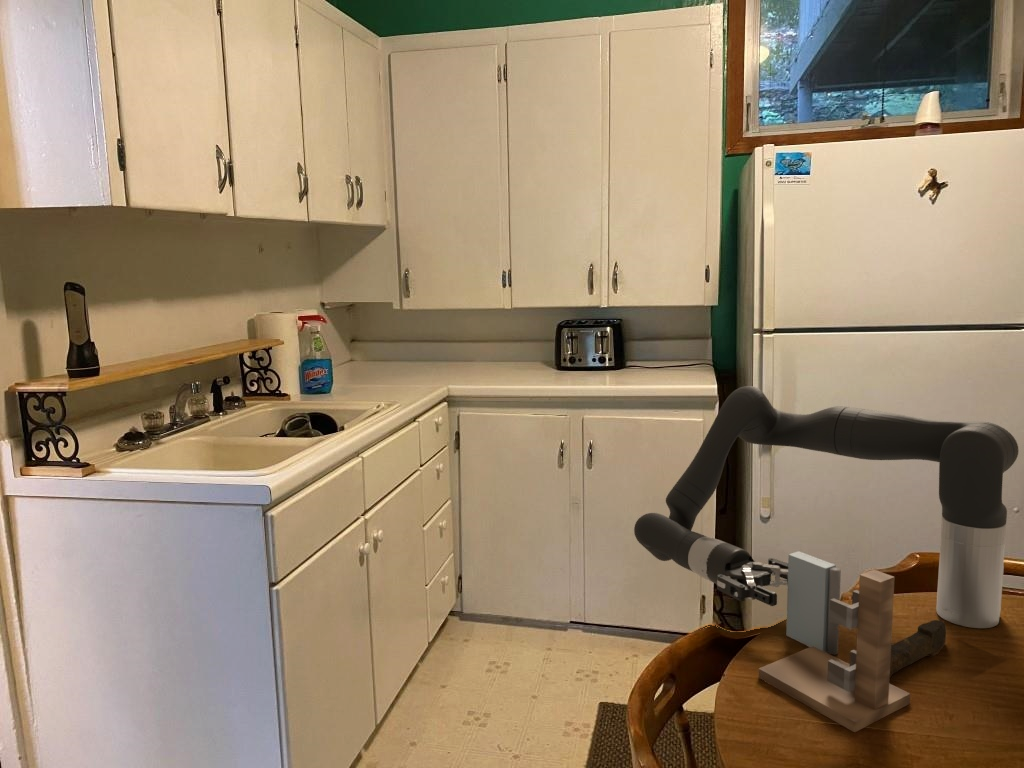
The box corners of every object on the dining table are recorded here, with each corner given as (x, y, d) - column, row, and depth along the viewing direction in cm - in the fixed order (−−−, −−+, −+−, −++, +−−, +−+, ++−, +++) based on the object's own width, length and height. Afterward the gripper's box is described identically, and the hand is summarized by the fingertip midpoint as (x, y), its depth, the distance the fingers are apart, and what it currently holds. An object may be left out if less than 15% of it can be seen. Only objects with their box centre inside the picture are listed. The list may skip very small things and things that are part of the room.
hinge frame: (812, 655, 120) (816, 535, 117) (909, 703, 106) (917, 569, 103) (758, 677, 114) (761, 552, 111) (854, 732, 100) (860, 591, 97)
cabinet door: (796, 631, 128) (798, 551, 125) (841, 653, 120) (844, 568, 118) (786, 635, 126) (788, 554, 124) (831, 657, 119) (834, 571, 117)
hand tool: (884, 687, 111) (886, 657, 110) (860, 675, 114) (861, 646, 114) (961, 652, 120) (963, 624, 119) (936, 641, 123) (938, 614, 123)
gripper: (747, 573, 143) (821, 604, 129) (690, 591, 136) (762, 626, 122) (747, 534, 142) (822, 561, 128) (690, 551, 135) (763, 582, 121)
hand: (793, 593), depth 125 cm, fingers open, 8 cm apart
